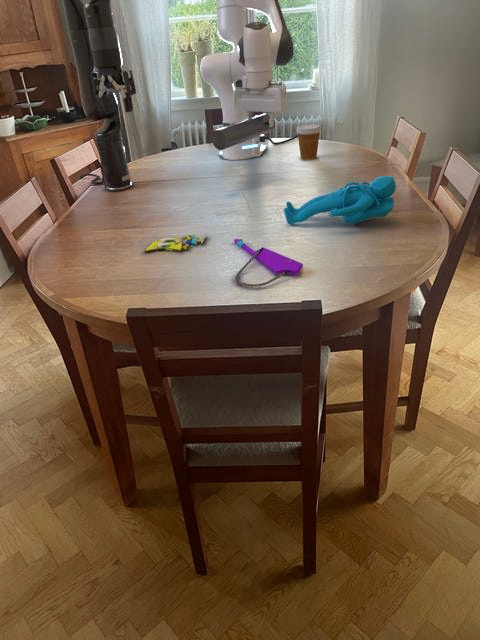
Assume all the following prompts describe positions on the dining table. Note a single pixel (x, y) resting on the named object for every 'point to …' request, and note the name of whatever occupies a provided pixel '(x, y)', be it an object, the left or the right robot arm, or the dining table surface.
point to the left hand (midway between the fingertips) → (118, 111)
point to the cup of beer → (308, 140)
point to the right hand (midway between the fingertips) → (261, 125)
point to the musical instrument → (269, 262)
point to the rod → (241, 131)
